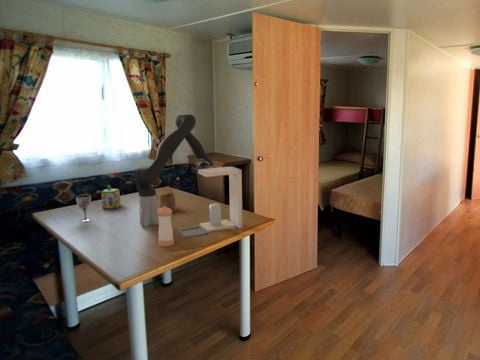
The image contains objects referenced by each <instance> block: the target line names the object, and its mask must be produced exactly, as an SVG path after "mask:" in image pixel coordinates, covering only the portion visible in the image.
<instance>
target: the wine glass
mask: <svg viewBox="0 0 480 360" xmlns="http://www.w3.org/2000/svg"><path fill="white" fill-rule="evenodd" d="M75 201H76V204H77V207H78V208H79V209H80V210H82V211H83V214H84V218H83V219H80V220H81V221H89V220H90V219H91V218H87V211H88V209H89V207H90V206H91V203H92V195H91V194H88V193H86V194H85V193H84V194H79V195H76V196H75Z"/></svg>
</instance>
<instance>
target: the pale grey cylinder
mask: <svg viewBox="0 0 480 360" xmlns="http://www.w3.org/2000/svg"><path fill="white" fill-rule="evenodd" d="M221 205H222V204H220V203H217V202H216V203H210V204H209V207H208V208H209V222H210V226H214V227H216V226H220V225H221V220H222V208H221Z"/></svg>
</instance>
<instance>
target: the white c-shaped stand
mask: <svg viewBox="0 0 480 360" xmlns="http://www.w3.org/2000/svg"><path fill="white" fill-rule="evenodd" d="M242 171H243V170H242V169H240V168H238V167H235V166H223V167H222V166H221V167H216V168H213V167H211V168H209V169H198V173H197V174H199V175H201V176H203V177H205V178H209V177H219V176H228V179H229V180H228V186H229V187H228V188H229V219H221V225H220V226H216V227H214V226H210V221H207V222H201V223H199V226H200V227H202V228H203V229H204V230H205V231H206V232H207V233H210V232H216V231H222V230H227V229H231V230H236V228H238V229H243V186H242V185H243V182H242V180H243V177H242V176H243V173H242Z"/></svg>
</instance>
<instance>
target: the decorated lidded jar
mask: <svg viewBox="0 0 480 360" xmlns="http://www.w3.org/2000/svg"><path fill="white" fill-rule="evenodd" d="M100 194H101V204H102V205H101V206H102V209H103V208H104V209H117V208H119V206H122V205H121V195H120V188H112V186H111V185H110V184H108V185H107V186H106V189H105V188H104V190H101V191H100Z"/></svg>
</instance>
